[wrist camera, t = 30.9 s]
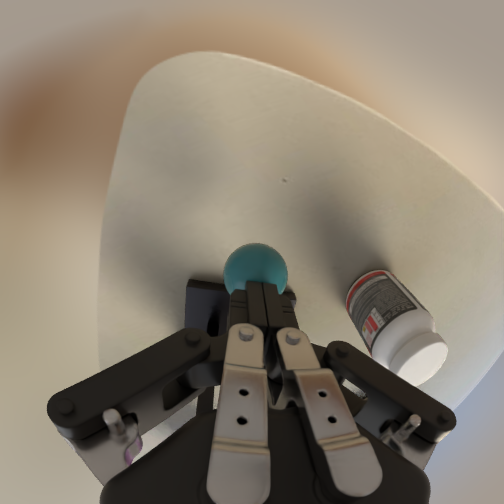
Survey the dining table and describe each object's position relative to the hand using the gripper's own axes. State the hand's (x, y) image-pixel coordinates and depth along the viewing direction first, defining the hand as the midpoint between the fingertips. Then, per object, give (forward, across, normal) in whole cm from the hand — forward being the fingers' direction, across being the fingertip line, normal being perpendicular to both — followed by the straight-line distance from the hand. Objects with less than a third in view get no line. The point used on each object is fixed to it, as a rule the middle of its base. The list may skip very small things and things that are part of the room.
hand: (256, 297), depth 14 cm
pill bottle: (+8, -12, +4) cm, 15 cm away
